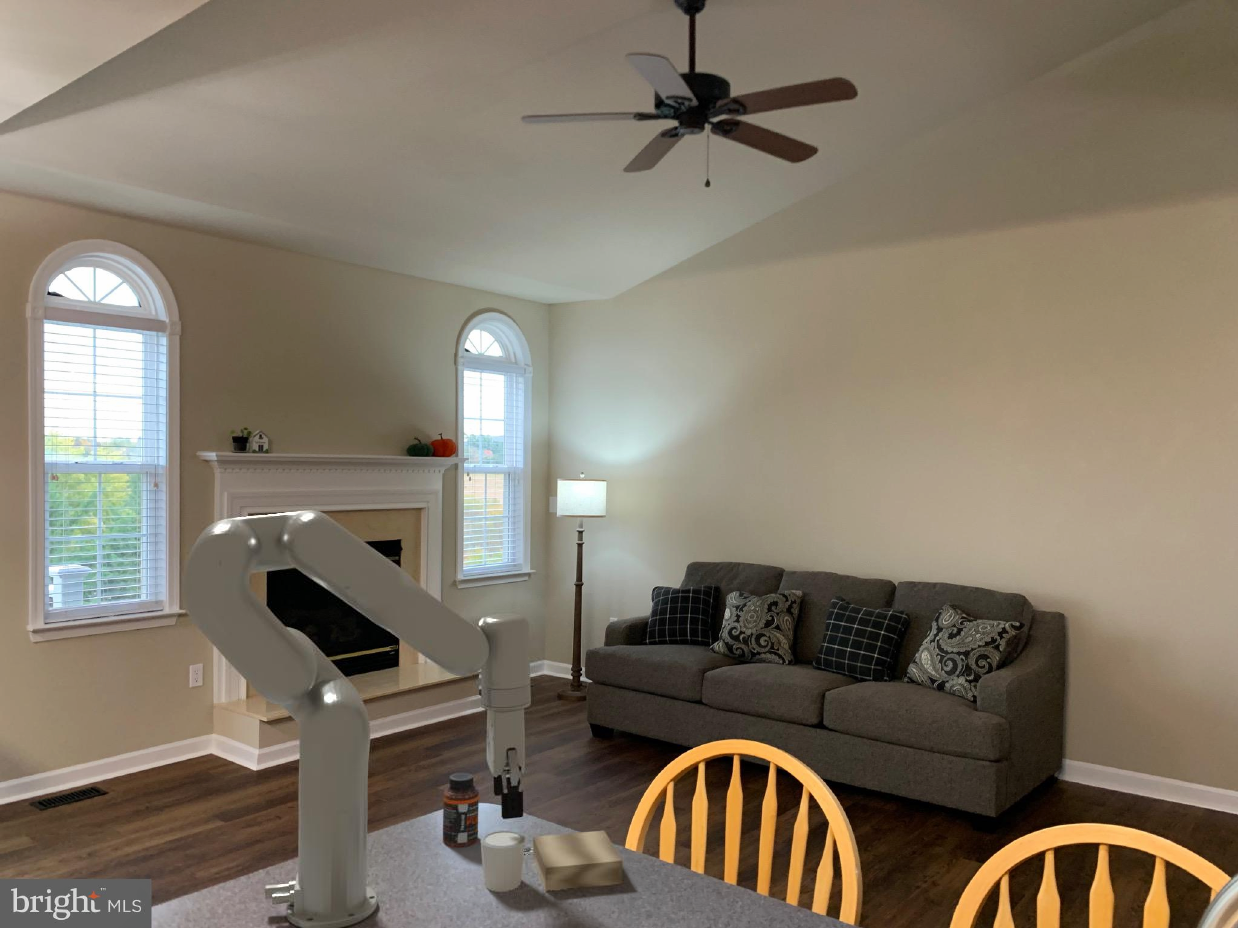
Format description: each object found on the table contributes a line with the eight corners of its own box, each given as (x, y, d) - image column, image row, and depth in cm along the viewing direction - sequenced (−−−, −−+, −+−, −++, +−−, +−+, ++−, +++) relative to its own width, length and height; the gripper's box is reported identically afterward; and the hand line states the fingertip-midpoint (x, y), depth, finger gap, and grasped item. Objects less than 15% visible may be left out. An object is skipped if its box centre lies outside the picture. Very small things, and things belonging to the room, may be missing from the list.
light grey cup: (517, 895, 141) (517, 849, 141) (473, 891, 143) (474, 845, 143) (530, 876, 148) (530, 831, 148) (488, 871, 150) (489, 827, 149)
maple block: (545, 893, 143) (545, 867, 143) (532, 860, 155) (533, 836, 155) (621, 886, 146) (622, 860, 146) (603, 854, 158) (604, 830, 158)
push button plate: (507, 857, 155) (507, 855, 155) (504, 847, 159) (504, 845, 159) (543, 854, 156) (543, 852, 156) (539, 844, 160) (539, 842, 160)
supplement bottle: (471, 850, 157) (472, 783, 157) (437, 848, 158) (438, 780, 158) (482, 836, 163) (483, 771, 163) (449, 834, 164) (450, 769, 164)
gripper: (476, 683, 153) (477, 788, 153) (488, 712, 136) (490, 830, 136) (522, 680, 155) (523, 783, 155) (539, 708, 138) (541, 824, 138)
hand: (508, 805), depth 146 cm, fingers open, 9 cm apart
